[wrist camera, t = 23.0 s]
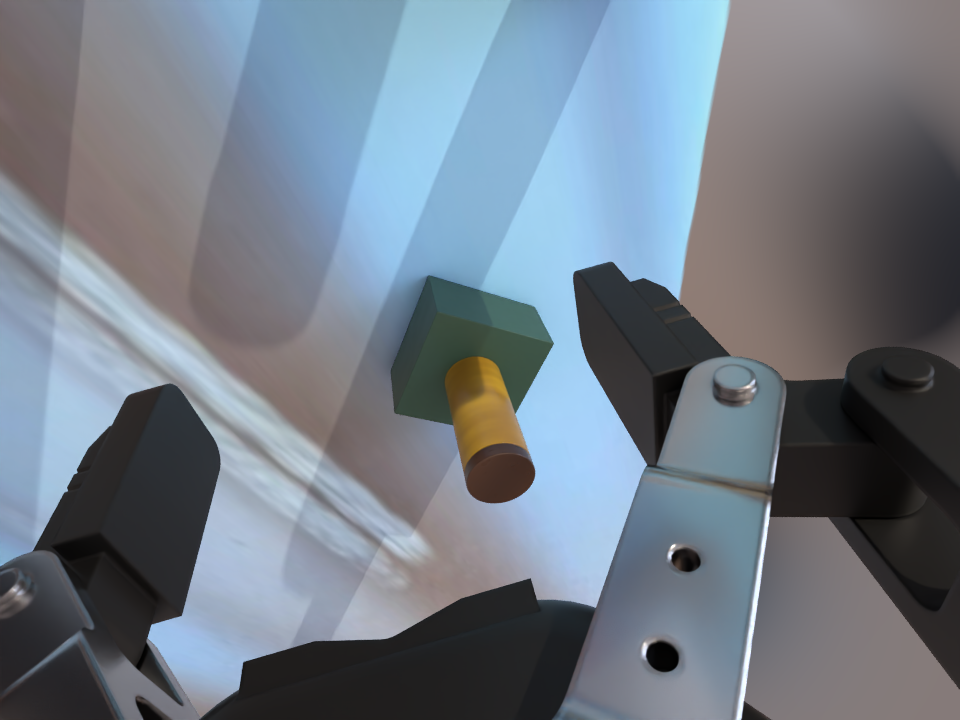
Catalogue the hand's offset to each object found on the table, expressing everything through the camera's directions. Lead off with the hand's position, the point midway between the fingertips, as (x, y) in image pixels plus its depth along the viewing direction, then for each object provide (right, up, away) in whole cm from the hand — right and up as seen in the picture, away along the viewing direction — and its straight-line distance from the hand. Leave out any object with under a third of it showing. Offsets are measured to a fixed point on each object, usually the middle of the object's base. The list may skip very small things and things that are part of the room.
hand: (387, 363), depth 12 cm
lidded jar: (+1, -2, +35) cm, 35 cm away
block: (0, +2, +40) cm, 40 cm away
